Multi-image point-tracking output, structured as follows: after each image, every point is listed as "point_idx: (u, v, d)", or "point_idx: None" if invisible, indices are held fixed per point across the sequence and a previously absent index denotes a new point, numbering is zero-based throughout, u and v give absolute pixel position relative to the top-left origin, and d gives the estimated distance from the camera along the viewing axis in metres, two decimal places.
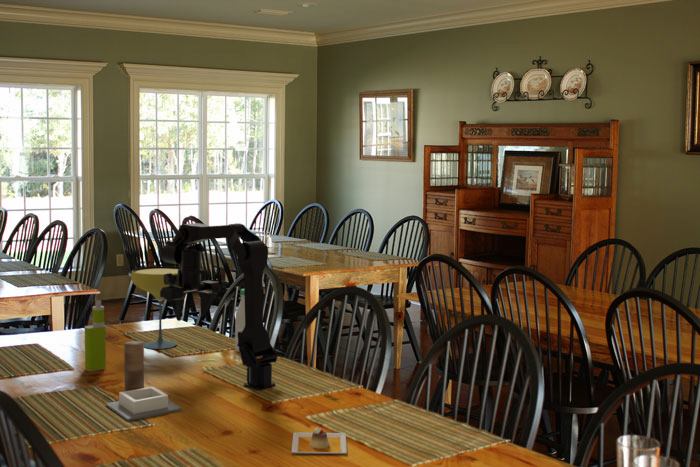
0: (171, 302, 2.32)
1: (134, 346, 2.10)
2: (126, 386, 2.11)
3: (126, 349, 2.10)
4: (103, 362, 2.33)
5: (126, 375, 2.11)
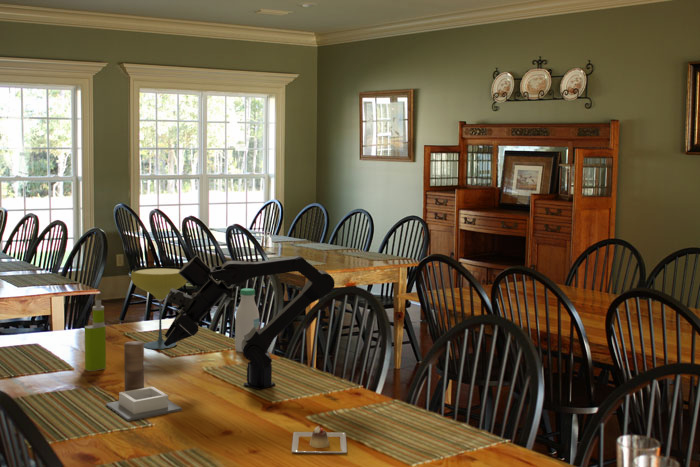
0: (176, 328, 2.08)
1: (134, 346, 2.10)
2: (126, 386, 2.11)
3: (126, 349, 2.10)
4: (103, 362, 2.33)
5: (126, 375, 2.11)
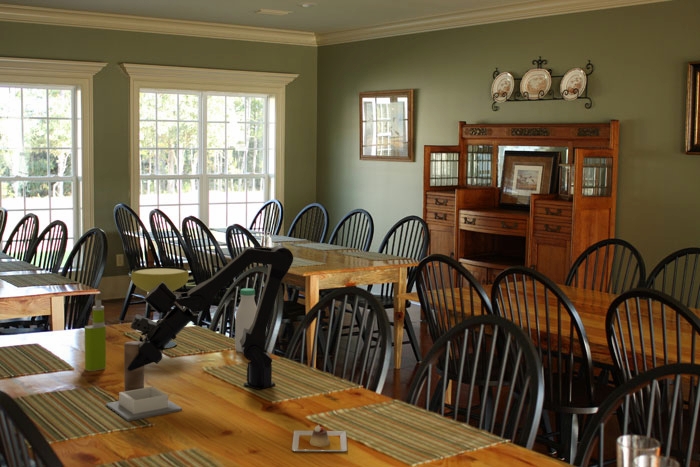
0: (140, 353, 2.08)
1: (134, 346, 2.10)
2: (126, 386, 2.11)
3: (126, 349, 2.10)
4: (103, 362, 2.33)
5: (126, 375, 2.11)
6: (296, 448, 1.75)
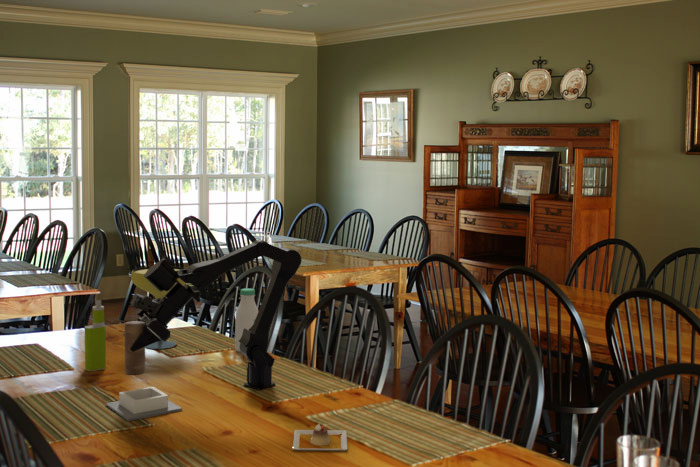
0: (144, 333, 2.02)
1: (137, 326, 2.03)
2: (128, 367, 2.04)
3: (128, 329, 2.03)
4: (103, 362, 2.33)
5: (128, 356, 2.04)
6: (297, 447, 1.76)
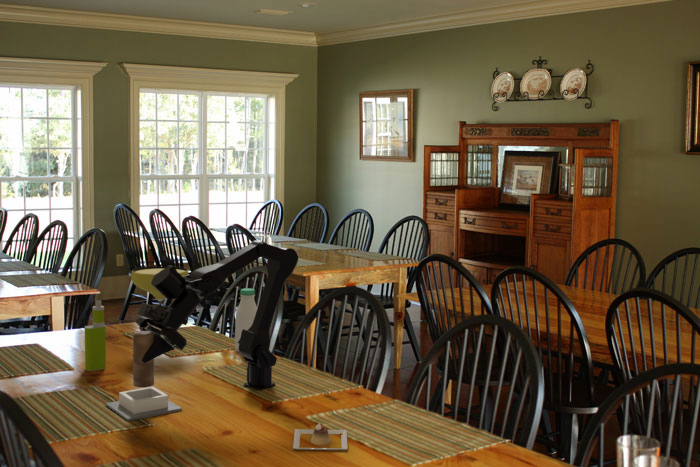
0: (157, 342, 1.96)
1: (148, 336, 1.96)
2: (138, 380, 1.97)
3: (138, 340, 1.96)
4: (103, 362, 2.33)
5: (138, 367, 1.96)
6: (297, 446, 1.76)
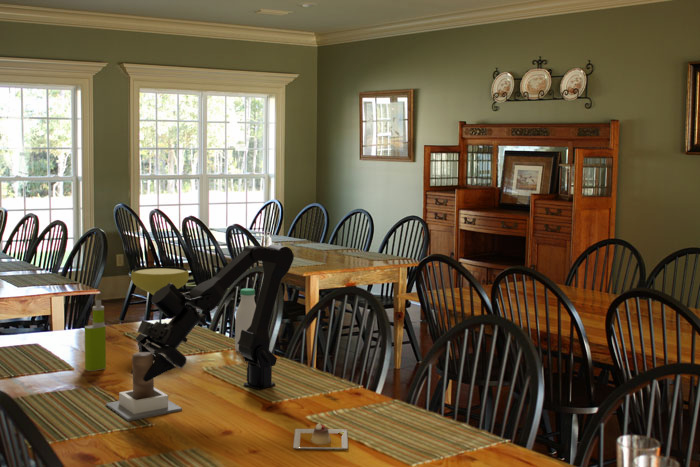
0: (159, 361, 1.95)
1: (147, 357, 1.97)
2: None
3: (138, 362, 1.96)
4: (103, 362, 2.33)
5: (138, 389, 1.97)
6: (297, 446, 1.76)
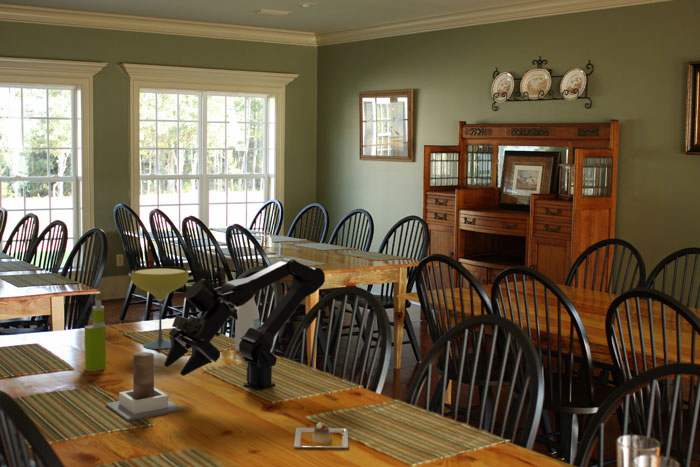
0: (195, 356, 2.00)
1: (148, 357, 1.97)
2: None
3: (139, 361, 1.96)
4: (103, 362, 2.33)
5: (138, 389, 1.97)
6: (298, 444, 1.77)
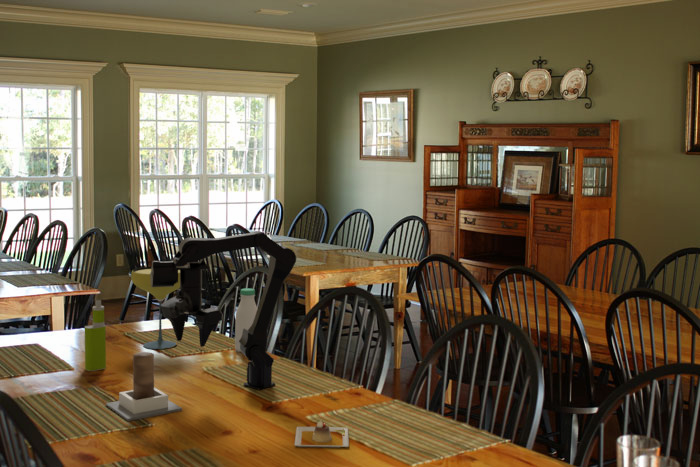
0: (203, 327, 2.08)
1: (148, 357, 1.97)
2: None
3: (139, 361, 1.96)
4: (103, 362, 2.33)
5: (138, 389, 1.97)
6: (298, 443, 1.78)
